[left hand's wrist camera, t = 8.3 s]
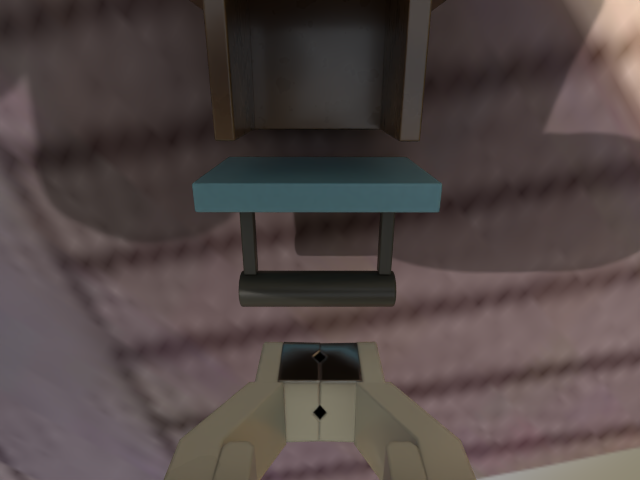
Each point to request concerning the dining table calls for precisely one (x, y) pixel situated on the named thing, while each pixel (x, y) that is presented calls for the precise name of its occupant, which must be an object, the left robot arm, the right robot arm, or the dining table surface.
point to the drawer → (317, 113)
